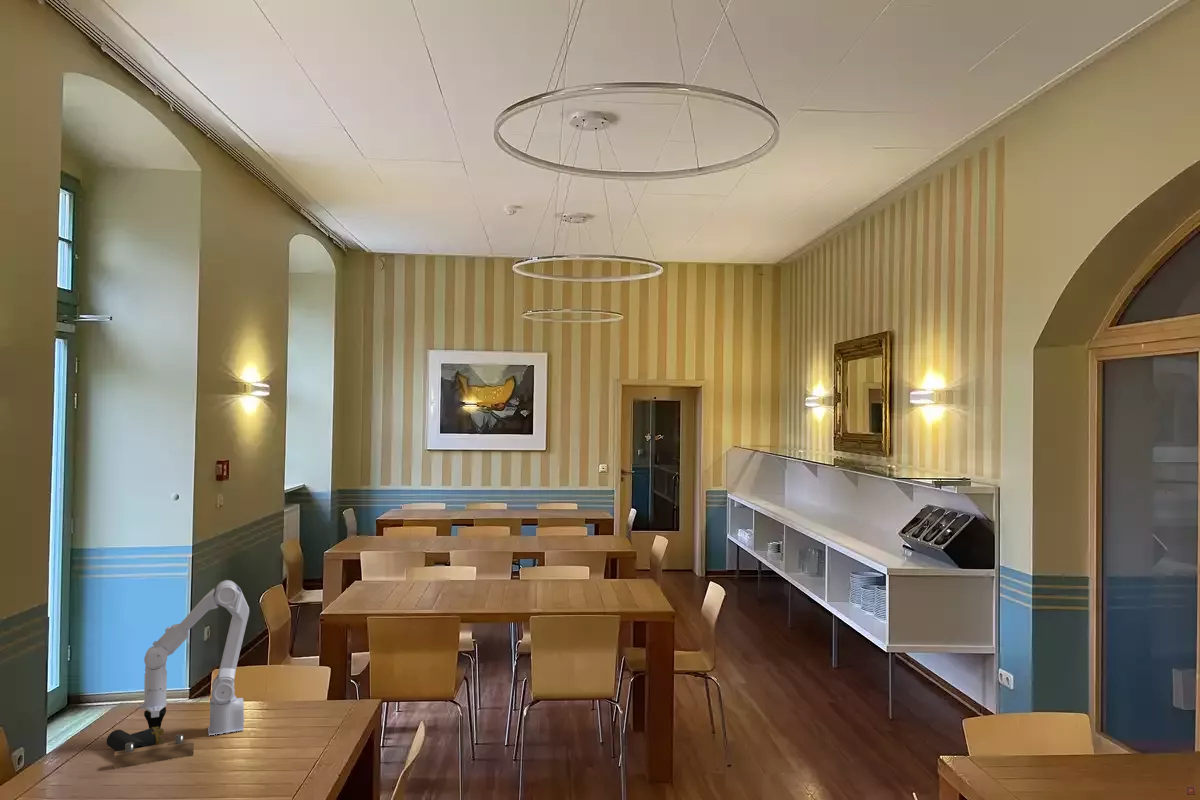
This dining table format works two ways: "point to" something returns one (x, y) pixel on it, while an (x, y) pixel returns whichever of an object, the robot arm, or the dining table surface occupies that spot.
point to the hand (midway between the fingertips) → (154, 735)
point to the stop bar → (153, 752)
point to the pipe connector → (135, 738)
